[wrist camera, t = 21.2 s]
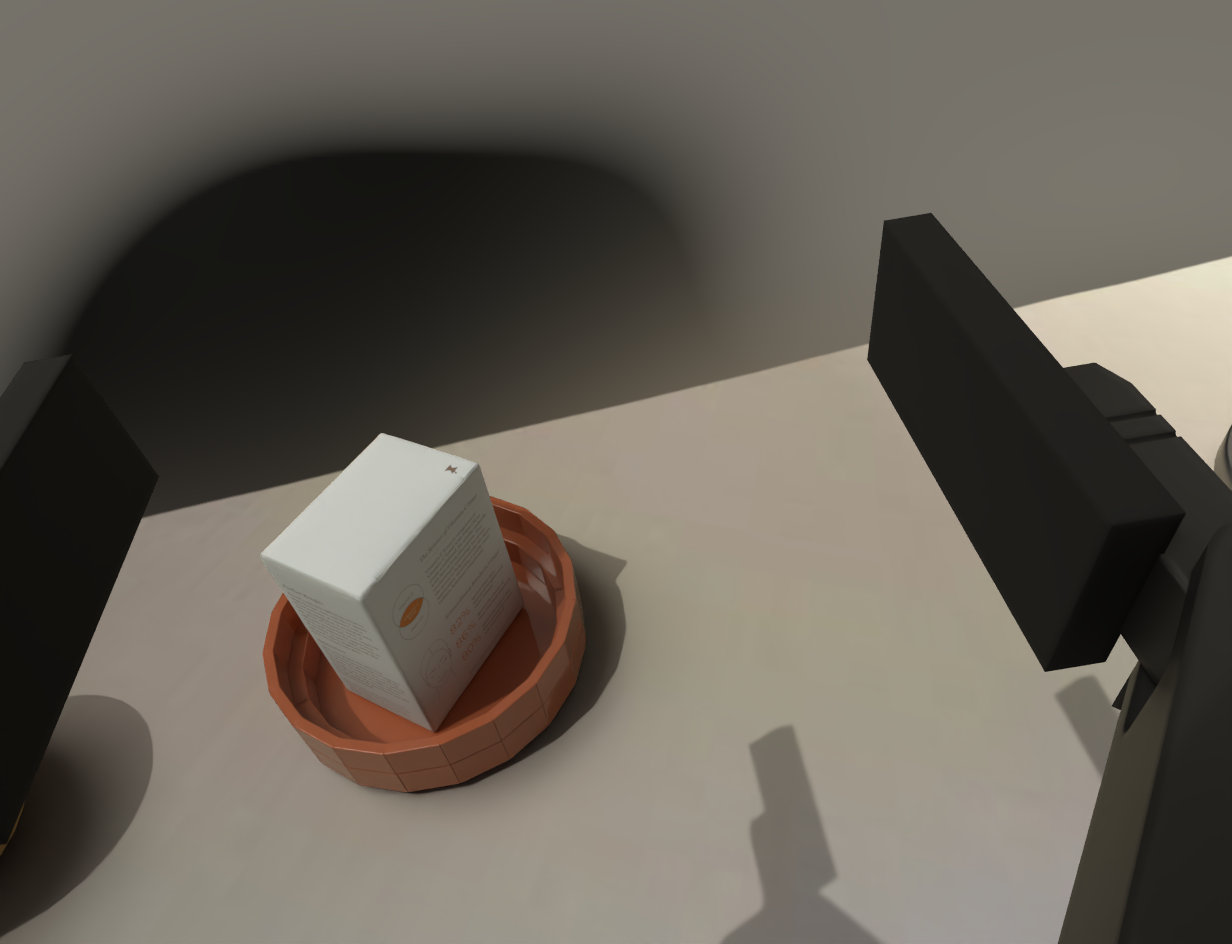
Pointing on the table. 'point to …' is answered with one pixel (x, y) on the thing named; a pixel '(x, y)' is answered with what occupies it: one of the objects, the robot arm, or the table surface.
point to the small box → (401, 577)
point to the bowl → (484, 713)
